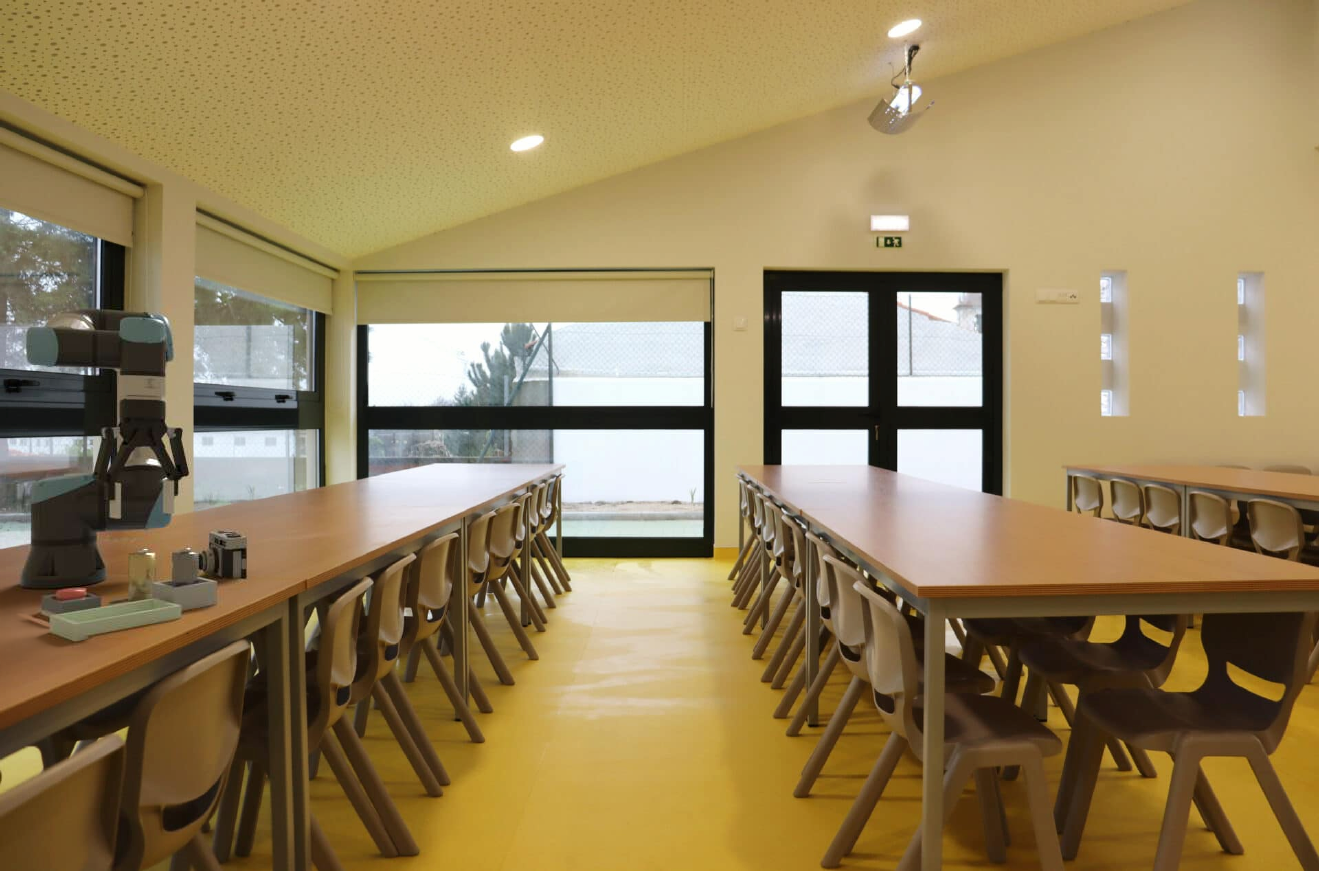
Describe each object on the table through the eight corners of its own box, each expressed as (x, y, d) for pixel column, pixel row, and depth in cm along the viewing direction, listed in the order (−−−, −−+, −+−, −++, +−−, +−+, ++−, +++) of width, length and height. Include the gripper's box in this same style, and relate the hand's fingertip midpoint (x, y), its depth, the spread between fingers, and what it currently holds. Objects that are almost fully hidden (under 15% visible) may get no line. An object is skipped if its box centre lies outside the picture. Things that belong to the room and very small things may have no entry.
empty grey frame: (105, 606, 154) (105, 601, 154) (158, 597, 163) (158, 592, 162) (124, 612, 150) (124, 607, 150) (178, 603, 158) (178, 598, 158)
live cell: (124, 605, 156) (124, 549, 156) (148, 601, 159) (149, 546, 159) (135, 608, 153) (135, 552, 153) (159, 604, 157) (160, 549, 157)
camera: (190, 574, 187) (190, 531, 186) (228, 569, 192) (229, 528, 192) (208, 583, 177) (208, 538, 176) (248, 579, 182) (248, 535, 182)
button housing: (37, 615, 147) (37, 596, 147) (79, 608, 152) (79, 590, 152) (58, 623, 142) (58, 603, 142) (101, 616, 147) (101, 597, 147)
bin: (152, 609, 153) (152, 582, 153) (195, 601, 160) (195, 576, 160) (173, 615, 149) (173, 588, 149) (217, 607, 156) (217, 581, 155)
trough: (49, 632, 136) (49, 615, 136) (155, 613, 150) (155, 598, 150) (74, 641, 131) (74, 624, 131) (181, 621, 145) (181, 605, 145)
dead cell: (167, 605, 154) (167, 548, 154) (191, 601, 157) (192, 546, 157) (178, 608, 151) (179, 551, 151) (202, 604, 155) (203, 548, 155)
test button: (52, 601, 147) (52, 590, 147) (79, 597, 150) (79, 586, 150) (62, 605, 144) (62, 593, 144) (90, 600, 148) (90, 589, 148)
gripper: (87, 396, 144) (87, 522, 145) (209, 400, 162) (209, 511, 163) (69, 396, 149) (69, 519, 149) (190, 400, 167) (190, 509, 167)
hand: (142, 515), depth 156 cm, fingers open, 9 cm apart
